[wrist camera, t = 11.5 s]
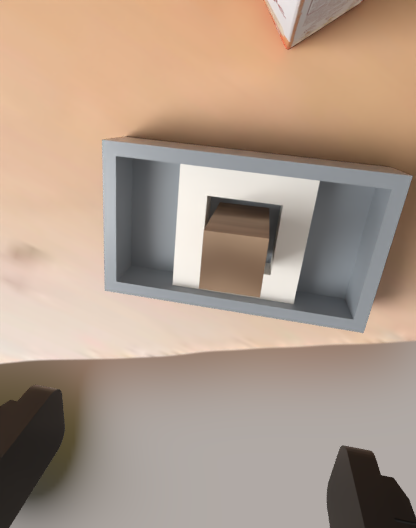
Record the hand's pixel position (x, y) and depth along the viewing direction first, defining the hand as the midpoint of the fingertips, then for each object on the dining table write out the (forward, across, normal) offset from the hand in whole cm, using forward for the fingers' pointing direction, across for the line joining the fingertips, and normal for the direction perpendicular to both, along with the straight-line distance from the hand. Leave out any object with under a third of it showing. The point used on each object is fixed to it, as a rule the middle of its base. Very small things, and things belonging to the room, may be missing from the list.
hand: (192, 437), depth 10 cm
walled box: (+22, 0, 0) cm, 22 cm away
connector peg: (+21, 0, 0) cm, 21 cm away
